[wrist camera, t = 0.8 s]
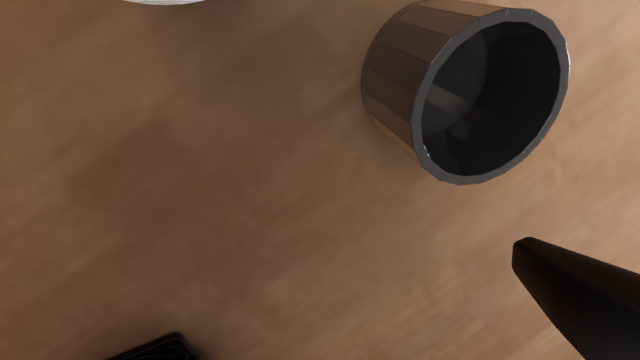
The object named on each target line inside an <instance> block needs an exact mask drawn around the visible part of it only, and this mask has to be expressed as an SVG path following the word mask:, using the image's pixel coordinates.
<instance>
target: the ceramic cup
mask: <svg viewBox="0 0 640 360" xmlns="http://www.w3.org/2000/svg"><path fill="white" fill-rule="evenodd" d="M569 70H570V61H569V55H568V50H567V45H566V41H565V38H564V37H563V35H562V34H561V32H560V31H559V29H558V28H557V26H556V25H555V23H554V22H553V21H552V20H551V19H550V18H548V17H546V16H544V15H543V14H541V13H539V12H537V11H535V10H534V9H530V8H523V7H515V6H508V5H501V4H494V3H487V2H480V1H473V0H420V1H417V2H415V3H412V4H410V5H409V6H407V7H405V8H403V9H402V10H401V11H399V12H398V13H397V14H395V15H394V16H393V17H392V18H391V19H390V20H389V21H388V22H387V23H386V24H385V25H384V26H383V28H382V29H381V30H380V31H379V33H378V34H377V36H376V37H375V39H374V40H373V42H372V44H371V46H370V48H369V51H368V53H367V56H366V59H365V62H364V66H363V71H362V79H361V90H362V98H363V102H364V106H365V109H366V111H367V114H368V115H369V117H370V119H371V120H372V122H373V123H374V124H375V125H376V127H377V128H378V129H379V130H380V131H381V132H382V133H384V134H385V135H386V136H387V137H388V138H389V139H390V140H392V141H393V142H394V143H395V144H396V145H397V146H398V147H400V148H401V149H402V150H403V151H404V152H405V153H406V154H408V155H409V156H410V157H411V158H412V159H413V160H415V161H416V162H417V163H418V164H419V165H420V166H421V167H423V168H424V169H425V170H426V171H428V172H429V173H430V174H431V175H433V176H434V177H435V178H437V179H438V180H440V181H443V182H447V183H451V184H455V185H469V184H479V183H483V182H486V181H488V180H490V179H493V178H495V177H498V176H500V175H502V174H504V173H506V172H507V171H509V170H510V169H512V168H513V167H514V166H516V165H517V164H519V163H520V162H522V161H523V160H524V159H525V158H526V157H527V156H528V155H529V154H530V153H531V152H532V151H533V150H534V149H535V148H536V147H537V145H538V144H539V143H540V142H541V141H542V139H544V137H545V136H546V134H547V132H548V131H549V129H550V128H551V126H552V124H553V123H554V121H555V120H556V118H557V116H558V114H559V111H560V108H561V106H562V103H563V100H564V98H565V95H566V92H567V91H566V90H567V88H568V79H569Z"/></svg>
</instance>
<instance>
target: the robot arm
mask: <svg viewBox="0 0 640 360" xmlns="http://www.w3.org/2000/svg"><path fill="white" fill-rule="evenodd" d="M512 268H513V271H514V273H515V274H516V275H517V277H518V278H519V279H520V281H521V282H522V283H523V285H524V286H525V288H526V289H527V290H528V292H529V293H530V294H531V296H532V297H533V298H534V300H535V301H536V302H537V304H538V305H539V306H540V308H541V309H542V310H543V312H544V313H545V314H546V316H547V317H548V318H549V319H550V321H551V322H552V323H553V324H554V325H555V327H556V328H557V329H558V330H559V331H560V332H561V333H562V334H563V336H564V337H565V338H566V339H567V340H568V341H569V342H570V343H571V344H572V345H573V347H574V348H575V349H576V350H577V351H578V352H579V353H580V354H581V355H582V356H583V358H584V359H585V360H640V274H638V273H635V272H632V271H629V270H626V269H623V268H620V267H618V266H615V265H612V264H609V263H606V262H603V261H600V260H597V259H594V258H591V257H588V256H585V255H582V254H580V253H577V252H574V251H571V250H568V249H565V248H562V247H559V246H556V245H553V244H550V243H547V242H545V241H542V240H539V239H536V238H533V237H526V238H523V239H521V240H518V241H516V242H515V243H514V244H513V253H512ZM175 341H176V342H175ZM110 360H203V359H202V358H201V356H200V355H198V354H195V353H194V352H193V350H192V349H191V348H190V346H189V345H188V343H187V342H186V341H185V339H184V338H183V336H182V335H180V334H171V335H169V336H166V337H164V338H162V339H159V340H157V341H154V342H152V343H149V344H147V345H144V346H142V347H140V348H137V349H135V350H132V351H130V352H127V353H125V354H123V355H120V356H118V357H115V358H113V359H110Z"/></svg>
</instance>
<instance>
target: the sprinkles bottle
mask: <svg viewBox="0 0 640 360" xmlns="http://www.w3.org/2000/svg"><path fill="white" fill-rule="evenodd" d="M125 1H130V2H136V3H143V4H150V5H178V4H187V3H194V2H199V1H203V0H125Z"/></svg>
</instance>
